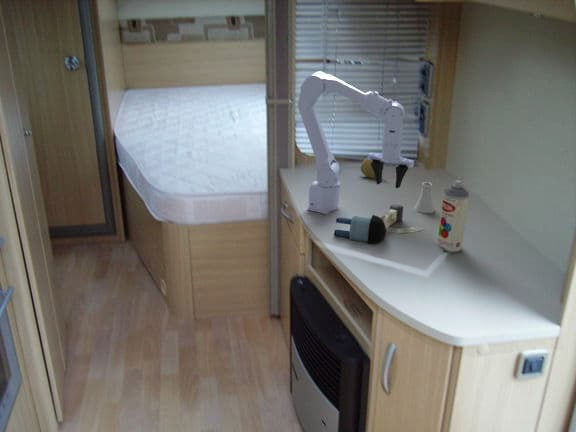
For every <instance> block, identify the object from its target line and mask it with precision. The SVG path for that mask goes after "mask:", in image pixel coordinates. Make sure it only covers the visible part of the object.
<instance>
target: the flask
mask: <svg viewBox="0 0 576 432" xmlns="http://www.w3.org/2000/svg"><path fill="white" fill-rule="evenodd" d="M421 185H422V187H421V188H422V190H421V192H420V195H419V198H418V200H417V202H416V203H415V205H414V207H413V209H414V210H415V211H416V212H418V213H423V214H433V213H434V212H435V206H434V202H433V198H432V191H431V189H432V186H433V184H432V183H431V182H425V181H424V182H422V183H421Z"/></svg>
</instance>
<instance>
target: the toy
mask: <svg viewBox="0 0 576 432" xmlns="http://www.w3.org/2000/svg"><path fill="white" fill-rule="evenodd" d="M380 217H381V216H377V215H375V214H372V215H371V217H364V216H358V215H353V216H352V218H348V217H347V218H346V217H341V216H340V217H336V219H335V223H337V224H344V225H350V227H349V230H343V229H335V230H334V233H333V234H334V236H338V237H345V238H346V237H347V238H349V240H350V241H359V242H364V243H365V242H366V243H367V244H368V245H375V244H380V243H381V242H383V241H384V239H385V238H386V235H387V232H386V227H385V224H384V222H383V220H382V219H381V218H380Z"/></svg>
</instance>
